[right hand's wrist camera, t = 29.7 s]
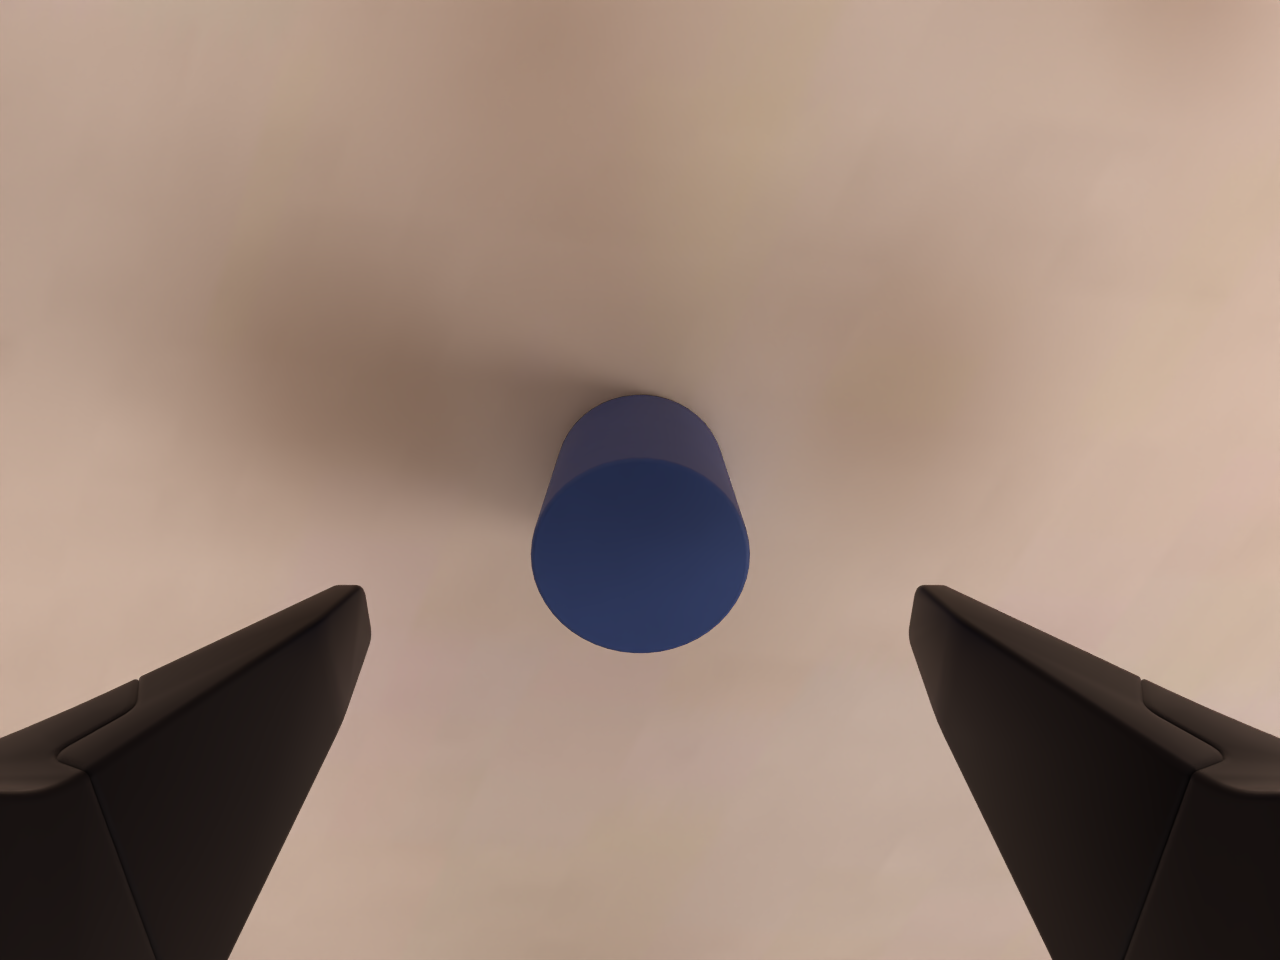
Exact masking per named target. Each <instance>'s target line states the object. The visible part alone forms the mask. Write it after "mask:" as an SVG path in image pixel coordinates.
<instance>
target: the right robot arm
mask: <svg viewBox="0 0 1280 960" xmlns="http://www.w3.org/2000/svg"><path fill="white" fill-rule="evenodd" d="M370 640H371V626H370V620H369V614H368V608H367V602H366V596H365V592H364V590H363V588H362V587H361V586H358V585H336V586H333V587H331V588H329V589H327V590H325V591H322V592H320V593H318V594H316V595H314V596H312V597H310V598H308V599H305V600H303V601H301V602H299V603H297V604H295V605H293V606H290V607H288V608H286V609H284V610H282V611H280V612H278V613H276V614H273V615H271V616H269V617H267V618H265V619H263V620H261V621H258V622H256V623H254V624H252V625H250V626H248V627H246V628H244V629H241V630H239V631H237V632H235V633H233V634H231V635H229V636H226V637H224V638H222V639H220V640H218V641H216V642H214V643H212V644H209V645H207V646H205V647H203V648H201V649H199V650H197V651H194V652H192V653H190V654H188V655H186V656H184V657H182V658H179V659H177V660H175V661H173V662H171V663H169V664H167V665H165V666H162V667H160V668H158V669H156V670H154V671H152V672H150V673H147V674H145V675H143V676H141V677H140V679H139V681H138V680H136V679H135V680H132V681H130V682H128V683H126V684H124V685H122V686H120V687H117V688H115V689H113V690H111V691H109V692H107V693H104V694H102V695H100V696H98V697H96V698H93V699H91V700H89V701H87V702H84V703H82V704H80V705H78V706H76V707H73V708H71V709H69V710H66V711H64V712H62V713H59V714H57V715H55V716H52V717H50V718H48V719H45V720H43V721H41V722H38V723H36V724H33V725H31V726H29V727H26V728H24V729H22V730H19V731H17V732H14V733H12V734H9V735H7V736H5V737H2V738H0V960H228V958H229V956H230V954H231V952H232V950H233V947H234V945H235V943H236V941H237V939H238V937H239V935H240V933H241V931H242V929H243V927H244V925H245V923H246V921H247V919H248V917H249V914H250V912H251V910H252V908H253V906H254V904H255V902H256V900H257V898H258V896H259V894H260V892H261V890H262V888H263V886H264V884H265V881H266V879H267V877H268V875H269V873H270V871H271V869H272V867H273V865H274V863H275V861H276V859H277V857H278V855H279V853H280V851H281V848H282V846H283V844H284V842H285V840H286V838H287V836H288V834H289V832H290V830H291V828H292V826H293V824H294V822H295V820H296V818H297V815H298V813H299V811H300V809H301V807H302V805H303V803H304V801H305V799H306V797H307V795H308V793H309V791H310V789H311V787H312V784H313V782H314V780H315V778H316V776H317V774H318V772H319V770H320V768H321V766H322V764H323V762H324V760H325V758H326V756H327V754H328V751H329V749H330V747H331V745H332V743H333V741H334V739H335V737H336V735H337V733H338V731H339V728H340V726H341V724H342V722H343V719H344V716H345V714H346V711H347V708H348V705H349V703H350V700H351V697H352V694H353V691H354V688H355V685H356V682H357V679H358V676H359V674H360V671H361V668H362V665H363V662H364V659H365V656H366V653H367V650H368V647H369V644H370ZM909 640H910V644H911V647H912V650H913V653H914V656H915V659H916V662H917V665H918V668H919V671H920V674H921V676H922V679H923V682H924V685H925V688H926V691H927V694H928V697H929V700H930V703H931V705H932V708H933V711H934V714H935V716H936V719H937V722H938V724H939V726H940V728H941V731H942V733H943V735H944V737H945V739H946V741H947V743H948V745H949V747H950V749H951V751H952V754H953V756H954V758H955V760H956V762H957V764H958V766H959V768H960V770H961V772H962V774H963V776H964V778H965V780H966V782H967V785H968V787H969V789H970V791H971V793H972V795H973V797H974V799H975V801H976V803H977V805H978V807H979V809H980V811H981V813H982V815H983V818H984V820H985V822H986V824H987V826H988V828H989V830H990V832H991V834H992V836H993V838H994V840H995V842H996V844H997V846H998V848H999V851H1000V853H1001V855H1002V857H1003V859H1004V861H1005V863H1006V865H1007V867H1008V869H1009V871H1010V873H1011V875H1012V877H1013V879H1014V882H1015V884H1016V886H1017V888H1018V890H1019V892H1020V894H1021V896H1022V898H1023V900H1024V902H1025V904H1026V906H1027V908H1028V910H1029V912H1030V915H1031V917H1032V919H1033V921H1034V923H1035V925H1036V927H1037V929H1038V931H1039V933H1040V935H1041V937H1042V939H1043V941H1044V943H1045V945H1046V948H1047V950H1048V952H1049V954H1050V956H1051V958H1052V960H1280V738H1278V737H1275V736H1273V735H1271V734H1268V733H1266V732H1263V731H1261V730H1258V729H1256V728H1254V727H1251V726H1249V725H1246V724H1244V723H1242V722H1239V721H1237V720H1235V719H1232V718H1230V717H1228V716H1225V715H1223V714H1221V713H1218V712H1216V711H1214V710H1211V709H1209V708H1207V707H1204V706H1202V705H1200V704H1198V703H1196V702H1193V701H1191V700H1189V699H1187V698H1184V697H1182V696H1180V695H1178V694H1176V693H1173V692H1171V691H1169V690H1167V689H1165V688H1163V687H1160V686H1158V685H1156V684H1154V683H1152V682H1150V681H1148V680H1145V679H1144V680H1142V681H1141V679H1140V677H1139V676H1137V675H1135V674H1132V673H1130V672H1128V671H1126V670H1124V669H1122V668H1120V667H1118V666H1115V665H1113V664H1111V663H1109V662H1107V661H1105V660H1103V659H1100V658H1098V657H1096V656H1094V655H1092V654H1090V653H1088V652H1086V651H1083V650H1081V649H1079V648H1077V647H1075V646H1073V645H1071V644H1068V643H1066V642H1064V641H1062V640H1060V639H1058V638H1056V637H1054V636H1051V635H1049V634H1047V633H1045V632H1043V631H1041V630H1039V629H1036V628H1034V627H1032V626H1030V625H1028V624H1026V623H1024V622H1022V621H1019V620H1017V619H1015V618H1013V617H1011V616H1009V615H1007V614H1004V613H1002V612H1000V611H998V610H996V609H994V608H992V607H990V606H987V605H985V604H983V603H981V602H979V601H977V600H975V599H972V598H970V597H968V596H966V595H964V594H962V593H960V592H958V591H955V590H953V589H951V588H949V587H947V586H944V585H922V586H919V587H918V588H917V590H916V592H915V596H914V602H913V608H912V614H911V620H910V626H909Z"/></svg>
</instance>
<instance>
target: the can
mask: <svg viewBox="0 0 1280 960" xmlns="http://www.w3.org/2000/svg"><path fill="white" fill-rule="evenodd" d="M749 559H750V549H749V540H748V536H747V531H746V527H745V524H744V521H743V518H742V515H741V512H740V509H739V506H738V503H737V500H736V497H735V494H734V491H733V488H732V485H731V482H730V478H729V475H728V472H727V469H726V466H725V463H724V460H723V457H722V454H721V451H720V448H719V446H718V443H717V441H716V439H715V437H714V436H713V434H712V432H711V431H710V429H709V428H708V427H707V426H706V424H705V423H704V422H703V421H702V420H701V419H700V418H699V417H698V416H697V415H696V414H694V413H693V412H692V411H690V410H689V409H687V408H686V407H684V406H682V405H680V404H678V403H676V402H674V401H671V400H669V399H665V398H661V397H657V396H649V395H631V396H623V397H619V398H616V399H612V400H609V401H607V402H605V403H602V404H600V405H598V406H597V407H595V408H593V409H592V410H590V411H589V412H588V413H586V414H585V415H584V416H583V417H582V418H581V419H580V420H579V421H578V422H577V423H576V424H575V425H574V426H573V428H572V429H571V430H570V431H569V433H568V435H567V437H566V438H565V440H564V442H563V445H562V447H561V450H560V453H559V456H558V459H557V462H556V465H555V468H554V471H553V474H552V477H551V480H550V483H549V487H548V490H547V493H546V496H545V499H544V502H543V505H542V508H541V511H540V514H539V517H538V521H537V524H536V527H535V530H534V535H533V539H532V547H531V563H532V570H533V575H534V579H535V582H536V585H537V588H538V590H539V592H540V594H541V596H542V598H543V600H544V602H545V603H546V605H547V606H548V608H549V609H550V610H551V612H552V613H553V614H554V615H555V616H556V617H557V619H558V620H559V621H560V622H561V623H562V624H563V625H565V626H566V627H567V628H568V629H570V630H571V631H572V632H574V633H575V634H577V635H578V636H580V637H581V638H583V639H585V640H587V641H589V642H591V643H593V644H596V645H599V646H601V647H604V648H607V649H612V650H616V651H621V652H630V653H651V652H660V651H665V650H669V649H673V648H676V647H679V646H682V645H685V644H687V643H689V642H691V641H694V640H696V639H698V638H699V637H701V636H702V635H704V634H706V633H707V632H709V631H710V630H711V629H712V628H714V627H715V626H716V625H717V624H718V623H720V621H721V620H722V619H723V618H724V617H725V616H726V615H727V614H728V613H729V611H730V610H731V609H732V607H733V606H734V604H735V603H736V601H737V599H738V598H739V596H740V594H741V592H742V590H743V587H744V584H745V581H746V579H747V574H748V569H749Z"/></svg>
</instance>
